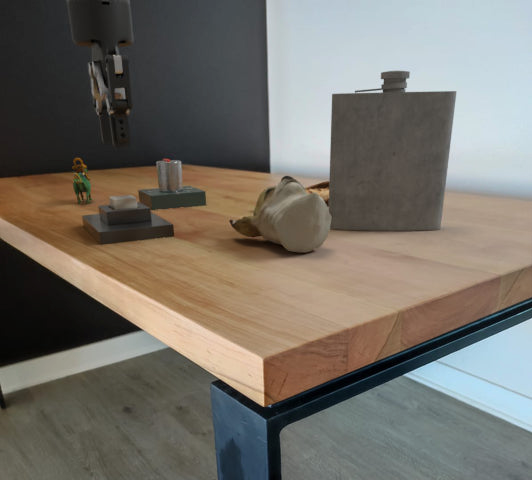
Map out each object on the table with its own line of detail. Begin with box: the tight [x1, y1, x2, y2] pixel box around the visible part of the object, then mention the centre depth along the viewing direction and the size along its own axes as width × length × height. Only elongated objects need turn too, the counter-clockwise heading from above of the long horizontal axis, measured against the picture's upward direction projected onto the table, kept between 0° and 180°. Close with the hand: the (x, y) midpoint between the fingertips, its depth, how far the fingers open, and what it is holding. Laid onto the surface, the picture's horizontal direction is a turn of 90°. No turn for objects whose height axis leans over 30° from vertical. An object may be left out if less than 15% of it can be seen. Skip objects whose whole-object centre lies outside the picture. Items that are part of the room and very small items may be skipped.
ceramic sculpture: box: [228, 175, 331, 254], centre depth 68 cm, size 11×9×15 cm
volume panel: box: [137, 185, 207, 211], centre depth 100 cm, size 10×9×3 cm
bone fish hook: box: [304, 180, 329, 206], centre depth 96 cm, size 9×5×18 cm
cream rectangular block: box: [108, 194, 138, 210], centre depth 77 cm, size 3×3×2 cm
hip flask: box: [328, 70, 457, 232], centre depth 74 cm, size 16×4×20 cm, turn 83°
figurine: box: [71, 157, 94, 204], centre depth 102 cm, size 3×12×8 cm, turn 7°
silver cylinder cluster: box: [155, 158, 184, 192], centre depth 98 cm, size 4×4×5 cm
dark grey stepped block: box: [81, 201, 175, 246], centre depth 78 cm, size 10×14×4 cm
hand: (116, 145), depth 74 cm, fingers open, 6 cm apart
